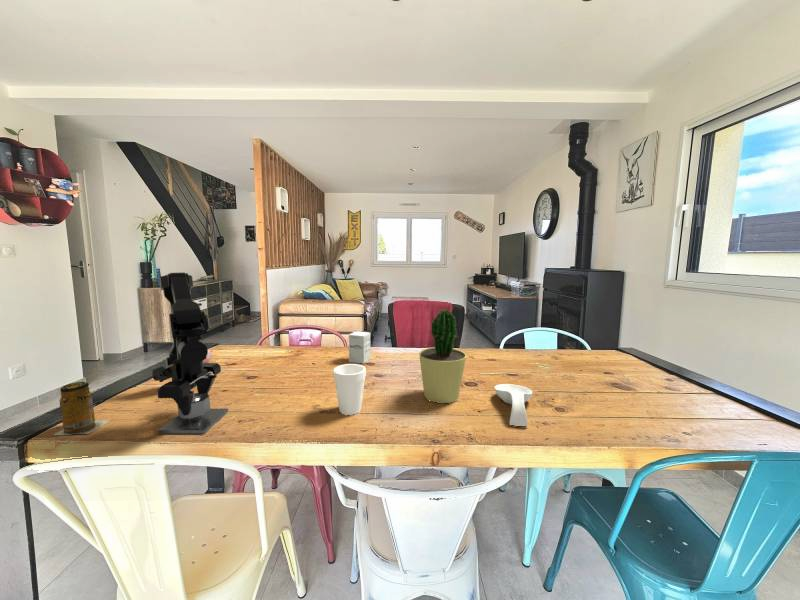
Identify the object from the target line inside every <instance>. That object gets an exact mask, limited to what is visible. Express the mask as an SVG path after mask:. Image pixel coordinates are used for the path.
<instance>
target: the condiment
mask: <svg viewBox="0 0 800 600" xmlns="http://www.w3.org/2000/svg"><path fill="white" fill-rule="evenodd" d="M93 401H94V400H93V393H92V391H90V387H89V383H88V382H87V381H78V382H72V383H67V384H65V385H62V387H60V398H59V407H60V413H61V422H62V428H63V429H61V430H59V431H57V432H56V433H54V434H53V436H70V435H85V434H91V433H93V432H95V431H96V430H98V429H99V428H101V427H103V426H104V425H106V424H107V423H109V422H110V421H111V419H97V420H96V418H95V409H94V402H93Z"/></svg>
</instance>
